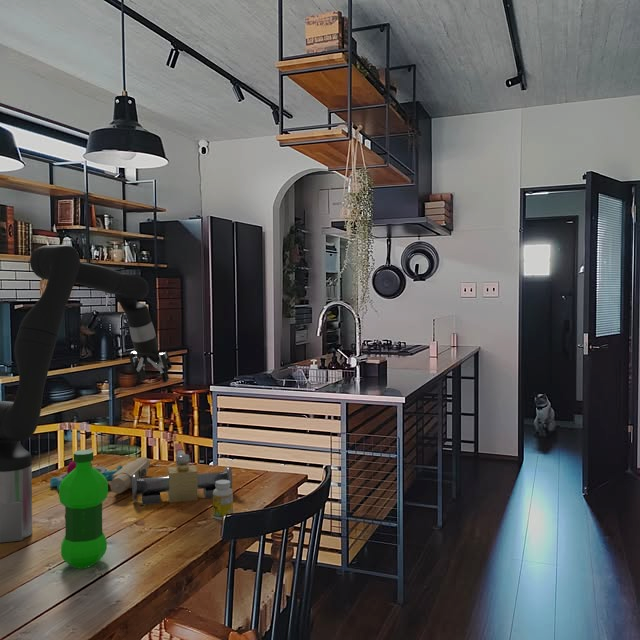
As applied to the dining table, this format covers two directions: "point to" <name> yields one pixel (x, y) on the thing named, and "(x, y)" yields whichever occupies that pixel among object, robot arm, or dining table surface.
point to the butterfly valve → (117, 475)
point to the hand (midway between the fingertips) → (155, 380)
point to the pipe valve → (178, 484)
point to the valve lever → (180, 454)
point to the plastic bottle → (83, 512)
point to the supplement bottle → (222, 499)
